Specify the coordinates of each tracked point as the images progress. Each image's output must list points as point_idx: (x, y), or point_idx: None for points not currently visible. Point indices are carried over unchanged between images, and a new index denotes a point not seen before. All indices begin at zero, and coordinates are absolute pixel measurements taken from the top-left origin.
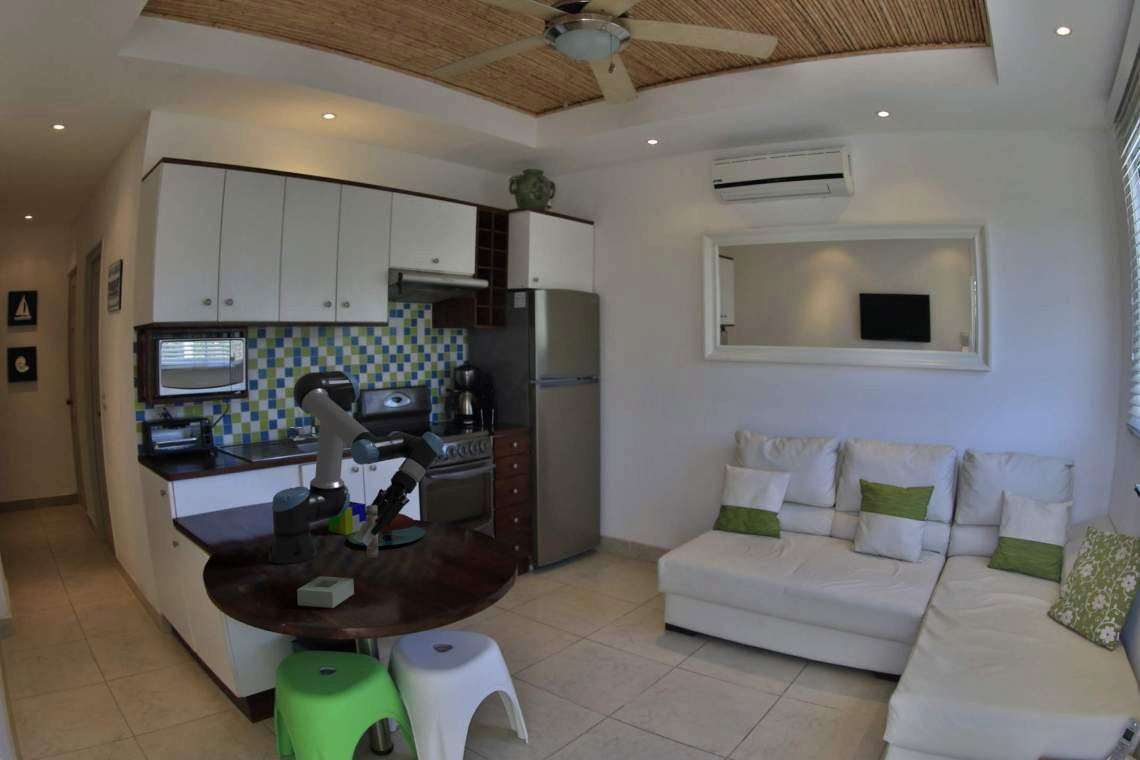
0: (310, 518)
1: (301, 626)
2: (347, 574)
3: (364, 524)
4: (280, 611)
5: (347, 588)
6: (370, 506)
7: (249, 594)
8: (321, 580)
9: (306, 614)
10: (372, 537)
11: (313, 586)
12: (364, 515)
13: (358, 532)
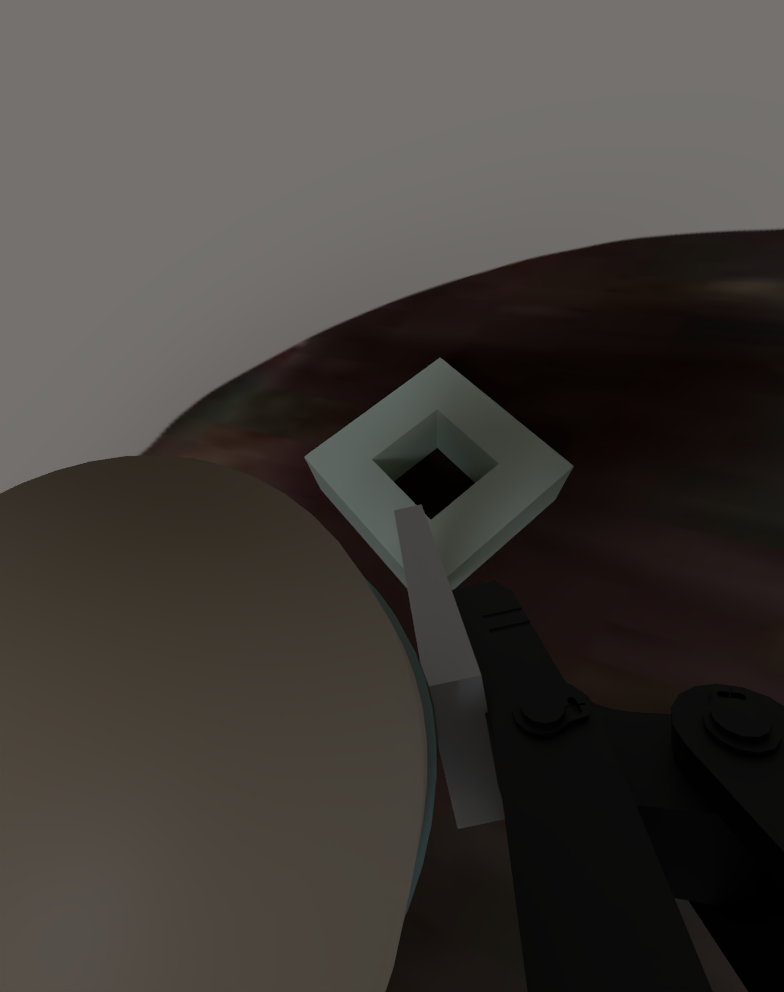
0: None
1: (241, 376)
2: (776, 691)
3: (420, 609)
4: (417, 350)
5: (388, 558)
6: (56, 677)
7: (663, 298)
8: (499, 457)
9: (329, 406)
10: None
11: (442, 415)
12: (714, 687)
13: (408, 539)
